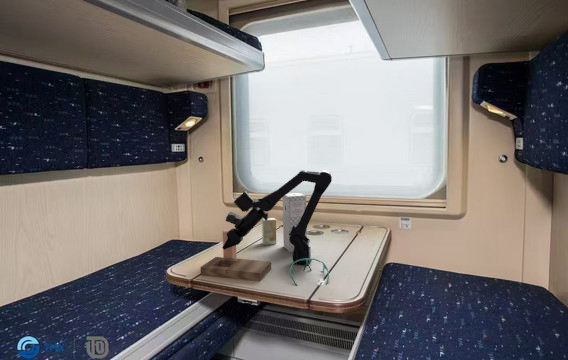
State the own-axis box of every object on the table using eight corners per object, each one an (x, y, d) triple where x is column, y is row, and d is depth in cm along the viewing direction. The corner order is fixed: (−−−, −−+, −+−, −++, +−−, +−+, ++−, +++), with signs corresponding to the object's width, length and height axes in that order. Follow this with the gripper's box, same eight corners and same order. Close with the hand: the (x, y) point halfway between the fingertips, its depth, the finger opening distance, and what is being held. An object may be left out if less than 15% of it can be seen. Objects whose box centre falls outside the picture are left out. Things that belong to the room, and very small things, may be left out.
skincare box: (264, 245, 166) (263, 220, 164) (262, 242, 170) (261, 218, 168) (277, 244, 167) (276, 219, 166) (274, 241, 171) (274, 217, 170)
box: (289, 251, 155) (288, 196, 152) (283, 246, 163) (282, 194, 160) (307, 249, 158) (306, 195, 155) (300, 244, 166) (299, 192, 163)
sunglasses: (325, 269, 134) (325, 257, 133) (331, 289, 119) (332, 276, 118) (289, 270, 133) (288, 258, 132) (291, 290, 119) (290, 277, 118)
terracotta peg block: (236, 259, 147) (235, 229, 145) (232, 262, 143) (231, 231, 141) (228, 258, 148) (226, 229, 146) (223, 261, 144) (222, 231, 142)
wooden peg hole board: (271, 268, 135) (271, 261, 134) (260, 281, 123) (260, 272, 123) (216, 263, 142) (215, 256, 141) (200, 274, 130) (200, 267, 130)
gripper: (242, 202, 151) (219, 226, 154) (230, 210, 133) (204, 238, 136) (261, 219, 151) (237, 243, 154) (251, 230, 133) (225, 258, 135)
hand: (226, 245), depth 145 cm, fingers open, 9 cm apart
